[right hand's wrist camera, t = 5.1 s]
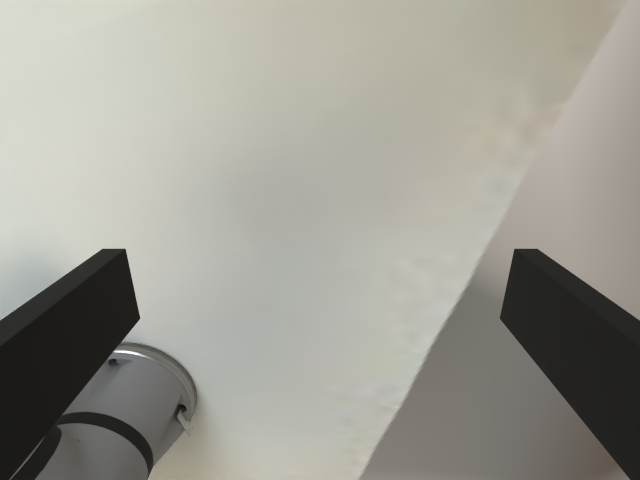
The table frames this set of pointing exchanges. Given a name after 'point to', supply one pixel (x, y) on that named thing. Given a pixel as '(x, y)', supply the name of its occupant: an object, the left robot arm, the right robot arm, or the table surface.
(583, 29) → the table surface
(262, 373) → the table surface
